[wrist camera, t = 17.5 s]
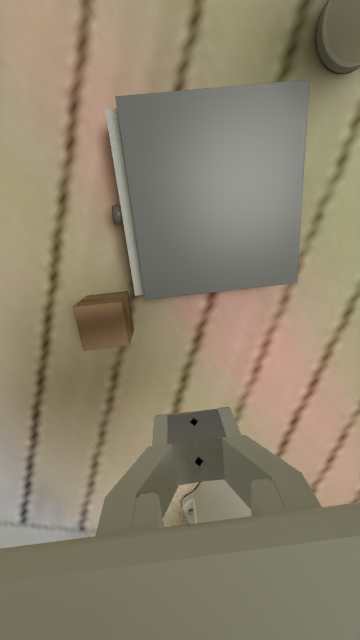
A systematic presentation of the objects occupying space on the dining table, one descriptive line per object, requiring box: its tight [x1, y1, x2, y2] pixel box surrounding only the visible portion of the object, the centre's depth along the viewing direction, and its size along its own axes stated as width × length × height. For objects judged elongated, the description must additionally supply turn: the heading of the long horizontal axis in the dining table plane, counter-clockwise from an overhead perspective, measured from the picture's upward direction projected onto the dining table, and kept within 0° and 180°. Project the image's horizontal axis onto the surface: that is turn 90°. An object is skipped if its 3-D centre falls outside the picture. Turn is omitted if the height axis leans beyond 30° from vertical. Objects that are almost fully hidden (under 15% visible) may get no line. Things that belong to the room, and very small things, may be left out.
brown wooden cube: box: [73, 291, 134, 351], centre depth 29 cm, size 5×5×5 cm
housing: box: [115, 80, 309, 300], centre depth 26 cm, size 17×16×5 cm
